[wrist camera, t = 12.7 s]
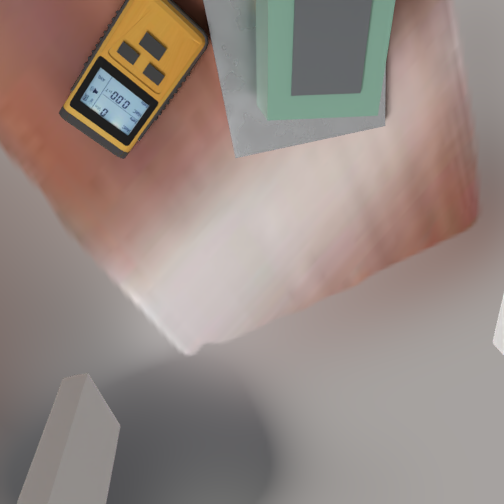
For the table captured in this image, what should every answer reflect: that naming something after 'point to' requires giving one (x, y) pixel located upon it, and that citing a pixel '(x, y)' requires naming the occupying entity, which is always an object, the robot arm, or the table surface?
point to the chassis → (245, 88)
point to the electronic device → (134, 73)
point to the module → (321, 57)
